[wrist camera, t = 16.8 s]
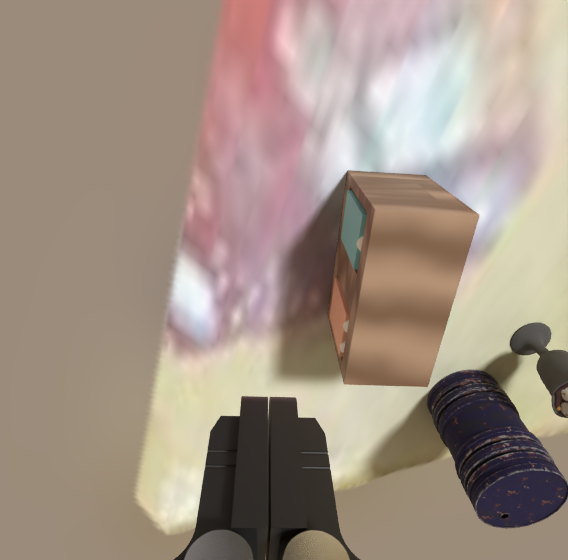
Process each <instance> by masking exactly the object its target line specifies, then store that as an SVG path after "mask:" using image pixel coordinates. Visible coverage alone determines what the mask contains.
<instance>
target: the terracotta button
mask: <svg viewBox="0 0 568 560" xmlns="http://www.w3.org/2000/svg"><path fill="white" fill-rule="evenodd" d="M349 318H350V312H349V309H348V306H347V303H346V299H345V296H344V293H343V290H342V287H341V284H340V281H339V278H335V281H334V288H333V295H332V302H331V309H330V320H331V325H332V329H333V333H334V337H335V341H336V346H337V350H338V354H339V357H343V354H344V348H345V342H346V336H347V330H348V324H349Z"/></svg>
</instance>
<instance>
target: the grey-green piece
mask: <svg viewBox="0 0 568 560" xmlns="http://www.w3.org/2000/svg"><path fill="white" fill-rule="evenodd" d="M366 218H367V212H366V211H365V209H364V208H363V206H362V204H361V203H360V201H359V200H358V198H357V197H356V195H355V193H354V192H353V190H347V197H346V204H345V211H344V218H343V225H342V232H341V239H342V242H343V244H344V247H345V249H346V252H347V254H348V257H349V259H350V262H351V264H352V267H353V269H357V270H358V265H359V259H360V253H361V247H362V241H363V235H364V229H365V223H366Z"/></svg>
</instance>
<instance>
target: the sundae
mask: <svg viewBox="0 0 568 560" xmlns="http://www.w3.org/2000/svg"><path fill="white" fill-rule="evenodd" d="M550 339H551V330H550V328H549V327H548V326H547V325H545V324H542V323H531V324H528V325H525V326H523V327H521V328H520V329H519V330H518V331H517V332H516V333H515V334H514V335H513V337H512V340H511V347H512V349H513V351H515V352H516V353H518V354H521V355H531V354H534V353H538V354H539V356H540V358H539V360H538V363H537V371H538V373H539V375H540V378H541V380H542V381H543V383H544V385H545V386H546V388H547V389H548V391H549V393H550V394H551V396H552V407H553V410H554V412H555V414H557V415H558V416H560V417H564V418H568V352H566V351H563V350H552V351H548V350H547V349H546V348H545V347H546V346H547V344H548V343H549V341H550Z"/></svg>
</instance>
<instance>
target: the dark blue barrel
mask: <svg viewBox="0 0 568 560" xmlns="http://www.w3.org/2000/svg"><path fill="white" fill-rule="evenodd" d="M427 405H428V409H429V411H430V413H431V415H432V418H433V420H434V424H435V426H436V428H437V431H438V433H439V434H440V437H441V439H442V441H443V442H444V444H445V445H446V447H448V448H449V450H450V452H451V455H452V457H453V459H454V461H455V467H456V471H457V475H458V477H459V479H460V480H461V483H462V485H463V488H464V490H465V492H466V494H467V495H468V497H469V499H470V501H471V503H472V504H473V507H474V509H475V512H476V514H477V516H478V517H479V519H480V520H481V521H483V522H484V523H486V524H488V525H490V526H493V527H498V528H518V527H524V526H528V525H531V524H535V523H537V522H540V521H542V520H544V519H546V518H548V517H549V516H551V515H553V514H554V513H555V512H557V511H558V510H559V509H560V508H561V507H562V506H563V504H564V503H565V502H566V500H567V498H568V483H567V481H566V479H565V478H564V477H563V475H562V474H561V473H560V472H559V470H558V468H557V467H556V465H555V464H554V461H553V459H552V458H551V456H550V455H549V454H548V452H547V451H546V449H545V448H544V447H543V446H542V444H541V442H540V441H539V440H538V439H537V438H536V437H535V436H534V435H533V434H532V433H531V432H529V431H528V429H527V428H526V426H525V425H524V423H523V422H522V421H521V419H520V416H519V413H518V411H517V409H516V407H515V405H514V404H513V403H512V402H511V400H510V398H509V397H508V396H507V394H506V393H505V392H504V391H503V390H502V389H501V388H500V386H499V385H498V383H497V382H496V380H495V379H494V378H493V377H492V376H491V375H489V374H488V373H485V372H483V371H479V370H463V371H459V372H455V373H452V374H450V375H448V376H446V377H444V378H443V379H441V380H440V381H439V382H438V383H437V384H436V385H435V386H434V387H433V388H432V390H431V391H430V393H429V395H428V399H427Z"/></svg>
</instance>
